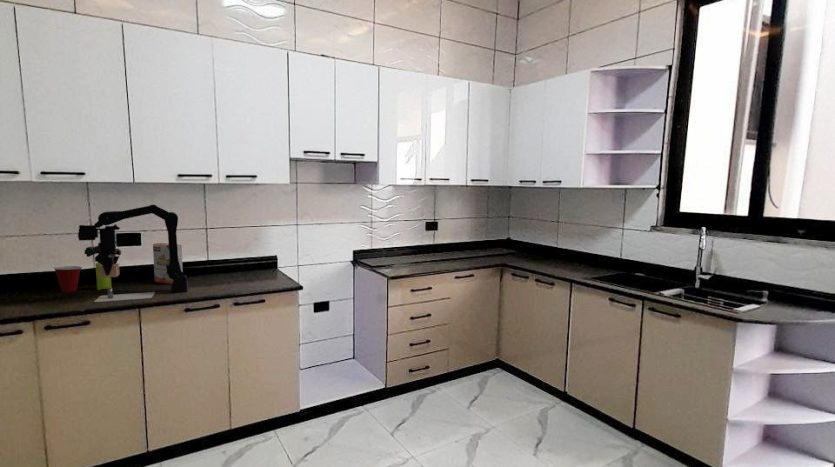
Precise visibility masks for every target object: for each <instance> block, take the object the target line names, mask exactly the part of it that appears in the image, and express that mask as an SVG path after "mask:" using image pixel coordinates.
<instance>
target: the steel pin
mask: <svg viewBox="0 0 835 467" xmlns="http://www.w3.org/2000/svg"><path fill="white" fill-rule="evenodd" d="M106 291H107V295H108V298H113V295H114V289H113V287H111V288H107V289H106Z"/></svg>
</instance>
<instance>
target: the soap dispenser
mask: <svg viewBox="0 0 835 467" xmlns="http://www.w3.org/2000/svg"><path fill="white" fill-rule="evenodd" d="M100 265H102V264H100V263H98V262H95V275H96V276H95V277H96V290H97V291H101V290H107V288H112V277H103V278H99V268H98V267H99V266H100Z"/></svg>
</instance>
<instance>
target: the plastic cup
mask: <svg viewBox="0 0 835 467" xmlns="http://www.w3.org/2000/svg"><path fill="white" fill-rule="evenodd" d="M82 268H83V266H80V265H66V266H65V265H64V266H54V267H53V269H54V271H55V274H56V276H57V280H58V284H59V286H60V287H59V288H60V290H61V292H62V293H71V292H75V291H77V290H78V284H79V279H80V273H81V270H82Z"/></svg>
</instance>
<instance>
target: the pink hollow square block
mask: <svg viewBox="0 0 835 467" xmlns="http://www.w3.org/2000/svg"><path fill="white" fill-rule="evenodd" d="M98 268H99V278H103V277H111V278H117V277H118V276H119V275H120V263H116V264H113V266H112V269H111V272H110V274H109V275H106V273H105V271H104V268H103V266H102V265H100V266H99V267H98Z"/></svg>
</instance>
